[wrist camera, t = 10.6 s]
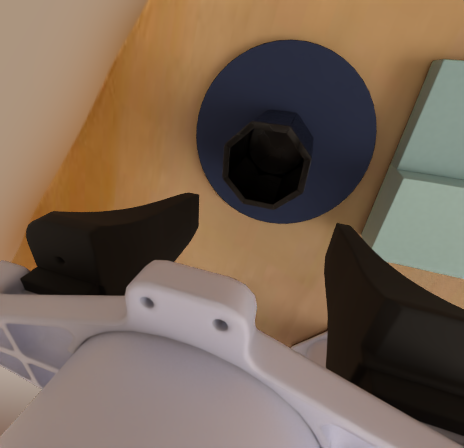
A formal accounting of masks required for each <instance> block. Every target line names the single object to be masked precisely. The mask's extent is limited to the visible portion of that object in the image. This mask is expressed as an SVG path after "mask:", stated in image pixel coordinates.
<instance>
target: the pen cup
mask: <svg viewBox="0 0 464 448" xmlns="http://www.w3.org/2000/svg"><path fill="white" fill-rule="evenodd" d="M253 129H254V131H253V132H252V135H251V131H252V130H253ZM312 149H313V136H312V134H311V133H310V131H309V130H308V128H307V127H306V125H305V124H304V122H303V121H302V119H301V117H300V116H299V114H297V113H294V112H286V111H278V110H267V111H266V112H264V113H263V114H261V115H260V116H258V117H257V118H256V119H254V120H253V121H251V122H250V123H249V124H248V125H246V126H245V127H244V128H243V129H242V130H240V131H239V132H238V133H237V134H236V135H235V136H233V137H232V138H231V139H230V140H229V141H227V142H226V143H225V145H224V155H223V171H222V178H223V180H224V181H225V182H226V184H227V185H228V186H229V187H230V189H231V190H232V191H233V192H234V194H235V195H236V196H237V198H238V199H239V200H240V201H241V203H243V204H247V205H252V206H256V207H261V208H266V209H271V210H275V209H277V208H279V207H281V206H282V205H284V204H286V203H287V202H289V201H291V200H292V199H294V198H296V197H298V196H299V195H301V194H302V193H303V192H304V189H305V185H306V181H307V177H308V172H309V168H310V164H311V160H312ZM249 153H250V154H249ZM302 158H303V161H302V163H300V162H301V160H302ZM299 163H300V164H299ZM298 164H299V165H298ZM261 170H262V171H261ZM284 173H285V174H284ZM282 174H284V175H282Z"/></svg>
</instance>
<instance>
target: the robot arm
mask: <svg viewBox="0 0 464 448" xmlns="http://www.w3.org/2000/svg"><path fill="white" fill-rule="evenodd" d="M198 224H199V195H198V194H193V193H184V194H180V195H177V196H174V197H170V198H167V199H164V200H161V201H157V202H154V203H150V204H147V205H143V206H138V207H134V208H128V209H122V210H113V211H103V212H58V211H53V212H50V213H48V214H46V215H44V216H42V217H40V218H38V219H36V220H34V221H32V222H31V223H30V224H29V225H28V227H27V229H26V238H27V241H28V245H29V247H30V250H31V252H32V255H33V257H34V260H35V262H36V265H37V266H38V267H36V268H35V269H33V270H32V271H29V270H28V269H27V268H25V267H23V266H21V265H17V264H14V263H11V262H8V261H3V260H2V261H0V366H2V367H3V368H5V369H7V370H9V371H11V372H13V373H14V374H16V375H18V376H20V377H21V378H23V379H25V380H26V381H28V382H30V383H32V384H33V385H35V386H37V387H39V388H40V389H42V390H41V391H40V392H39V393H38V395H37V396H36V397H35V398H34V399H33V400H32V401H31V403H30V404H29V405H28V406H27V407H26V408H25V409H24V411H23V412H22V413H21V414H20V415H19V416H18V417H17V418H16V419H15V421H14V422H13V423H12V424H11V425H10V426H9V427H8V429H7V430H6V431H5V432H4V433H3V434H2V435H1V436H0V448H464V309H462V308H460V307H457V306H455V305H453V304H451V303H449V302H447V301H445V300H443V299H441V298H440V297H438V296H436V295H434V294H432V293H430V292H429V291H427V290H425V289H424V288H422V287H420V286H419V285H417V284H416V283H414V282H412V281H411V280H409V279H408V278H406V277H405V276H404V275H402V274H401V273H399V272H398V271H397V270H396V269H394V268H393V267H392V266H390V265H389V264H388V263H387V262H386V261H384V260H383V259H382V258H381V257H380V256H379V255H378V254H377V253H376V252H375V251H374V250H373V249H372V248H371V247H370V246H369V245H368V244H367V243H366V242H365V241H364V240H363V239H362V238H361V237H360V236H359V234H358V233H357V232H356V231H355V230H354V229H353V228H352V227H351V226H349V225H344V224H339V223H337V224H336V227H335V229H334V232H333V235H332V238H331V241H330V244H329V247H328V250H327V253H326V256H325V268H324V276H325V287H326V298H327V309H328V331H327V332H324V333H322V334H320V335H317V336H315V337H313V338H310V339H308V340H306V341H303V342H301V343H299V344H296V345H294V346H292V347H291V348H290V347H288V346H286V345H284V344H283V343H281V342H279V341H277V340H276V339H274V338H272V337H270V336H269V335H267V334H265V333H263V332H262V331H260V330H258V329H257V328H256V326H255V316H256V311H257V304H256V298H255V295H254V294H253V293H252V292H251V290H250V289H249V288H248V287H247V286H246V285H245V284H243V283H241V282H239V281H237V280H235V279H233V278H231V277H228V276H224V275H220V274H217V273H213V272H209V271H205V270H202V269H198V268H194V267H190V266H187V265H183V264H179V263H175V262H174V261H175V260H176V259H177V258H178V256H179V255H180V254H181V253H182V251H183V250H184V249H185V248H186V246H187V245H188V244H189V242H190V241H191V239H192V238H193V236H194V234H195V232H196V231H197V229H198Z"/></svg>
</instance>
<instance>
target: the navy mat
mask: <svg viewBox="0 0 464 448" xmlns="http://www.w3.org/2000/svg"><path fill="white" fill-rule="evenodd" d="M267 110H278V111H286V112H294V113H297V114H299V116H300V117H301V119H302V121H303V122H304V124H305V125H306V127H307V128H308V130H309V131H310V133H311V134H312V136H313V149H312V160H311V164H310V168H309V172H308V177H307V181H306V185H305V189H304V192H303V193H302V194H301V195H299V196H298V197H296V198H294V199H292V200H291V201H289V202H287V203H286V204H284V205H282V206H281V207H279V208H277V209H275V210H271V209H266V208H261V207H256V206H252V205H247V204H243V203H241V201H240V200H239V199H238V198H237V196H236V195H235V194H234V192H233V191H232V190H231V189H230V187H229V186H228V185H227V184H226V182H225V181H224V180H223V178H222V171H223V155H224V145H225V143H226V142H227V141H229V140H230V139H231V138H232V137H233V136H235V135H236V134H237V133H238V132H239V131H240V130H242V129H243V128H244V127H245V126H246V125H248V124H249V123H250V122H251V121H253V120H254V119H256V118H257V117H258V116H260V115H261V114H263V113H264V112H266V111H267ZM253 131H254V129H253V130H252V131H251V135H252V132H253ZM196 139H197V150H198V154H199V159H200V162H201V165H202V168H203V171H204V173H205V175H206V177H207V179H208V181H209V182H210V184H211V186H212V187H213V188H214V190H215V191H216V192H217V194H218V195H219V196H220V197H221V198H222V199H223V200H224V201H225V202H226V203H228V204H229V205H230V206H231V207H233V208H234V209H236V210H237V211H239V212H240V213H242V214H244V215H246V216H248V217H251V218H254V219H257V220H260V221H264V222H269V223H278V224H288V223H297V222H302V221H306V220H310V219H312V218H315V217H318V216H320V215H322V214H324V213H326V212H328V211H330V210H331V209H333V208H334V207H336V206H337V205H339V204H340V203H341V202H342V201H343V200H345V199H346V198H347V197H348V196H349V195H350V194H351V192H352V191H353V190H354V189H355V188H356V186H357V185H358V184H359V182H360V181H361V180H362V178H363V176H364V174H365V172H366V171H367V169H368V166H369V164H370V161H371V158H372V155H373V151H374V147H375V141H376V115H375V110H374V105H373V102H372V99H371V96H370V93H369V91H368V89H367V87H366V85H365V83H364V81H363V79H362V78H361V77H360V75H359V74H358V73H357V72H356V70H355V69H354V68H353V67H352V66H351V65H350V64H349V63H348V62H347V61H346V60H345V59H344V58H342V57H341V56H339V55H338V54H336V53H335V52H333V51H332V50H330V49H327V48H325V47H323V46H321V45H318V44H314V43H311V42H307V41H299V40H279V41H273V42H269V43H264V44H262V45H259V46H256V47H254V48H251V49H249V50H248V51H246V52H244V53H242V54H241V55H239V56H238V57H236V58H235V59H234V60H232V61H231V62H230V63H229V64H228V65H227V66H226V67H225V68H224V69H223V70H222V71H221V72H220V73H219V74H218V76H217V77H216V78H215V79H214V81H213V82H212V84H211V86H210V87H209V89H208V91H207V93H206V95H205V97H204V100H203V102H202V104H201V108H200V112H199V115H198V122H197V134H196ZM249 154H250V153H249ZM302 161H303V158H302V160H301V162H300V163H302ZM300 163H299V164H300ZM299 164H298V165H299ZM261 171H262V170H261ZM284 174H285V173H284ZM284 174H282V175H284Z"/></svg>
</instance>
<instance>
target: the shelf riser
mask: <svg viewBox="0 0 464 448" xmlns="http://www.w3.org/2000/svg"><path fill="white" fill-rule="evenodd" d="M361 235H362V238H363V240H364V241H365V242H366V243H367V244H368V245H369V246H370V247H371V248H372V249H373V250H374V251H375V252H376V253H377V254H378V255H379V256H380V257H381V258H382V259H383V260H384V261H386V262H390V263H395V264H399V265H404V266H408V267H413V268H417V269H422V270H426V271H431V272H435V273H439V274H444V275H448V276H453V277H457V278H462V279H464V61H463V60H449V59H442V60H435V61H433V62H432V64H431V67H430V69H429V71H428V74H427V76H426V79H425V81H424V84H423V86H422V88H421V91H420V93H419V96H418V98H417V101H416V103H415V105H414V108H413V110H412V113H411V115H410V118H409V120H408V122H407V125H406V127H405V130H404V132H403V135H402V137H401V139H400V142H399V144H398V147H397V149H396V152H395V154H394V156H393V159H392V161H391V164H390V166H389V168H388V171H387V173H386V176H385V178H384V181H383V183H382V185H381V188H380V190H379V193H378V195H377V198H376V200H375V202H374V205H373V207H372V210H371V212H370V215H369V217H368V219H367V222H366V224H365V227H364V229H363V232H362V234H361Z"/></svg>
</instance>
